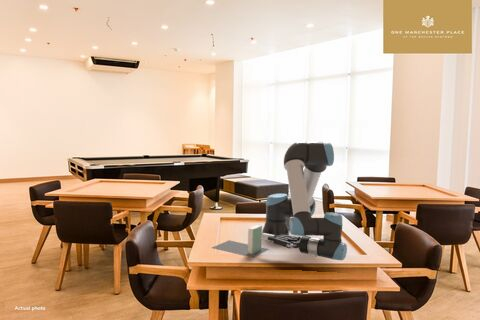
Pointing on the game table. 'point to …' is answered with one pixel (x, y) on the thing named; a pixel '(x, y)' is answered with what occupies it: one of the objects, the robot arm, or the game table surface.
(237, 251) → the mat
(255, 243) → the tile
